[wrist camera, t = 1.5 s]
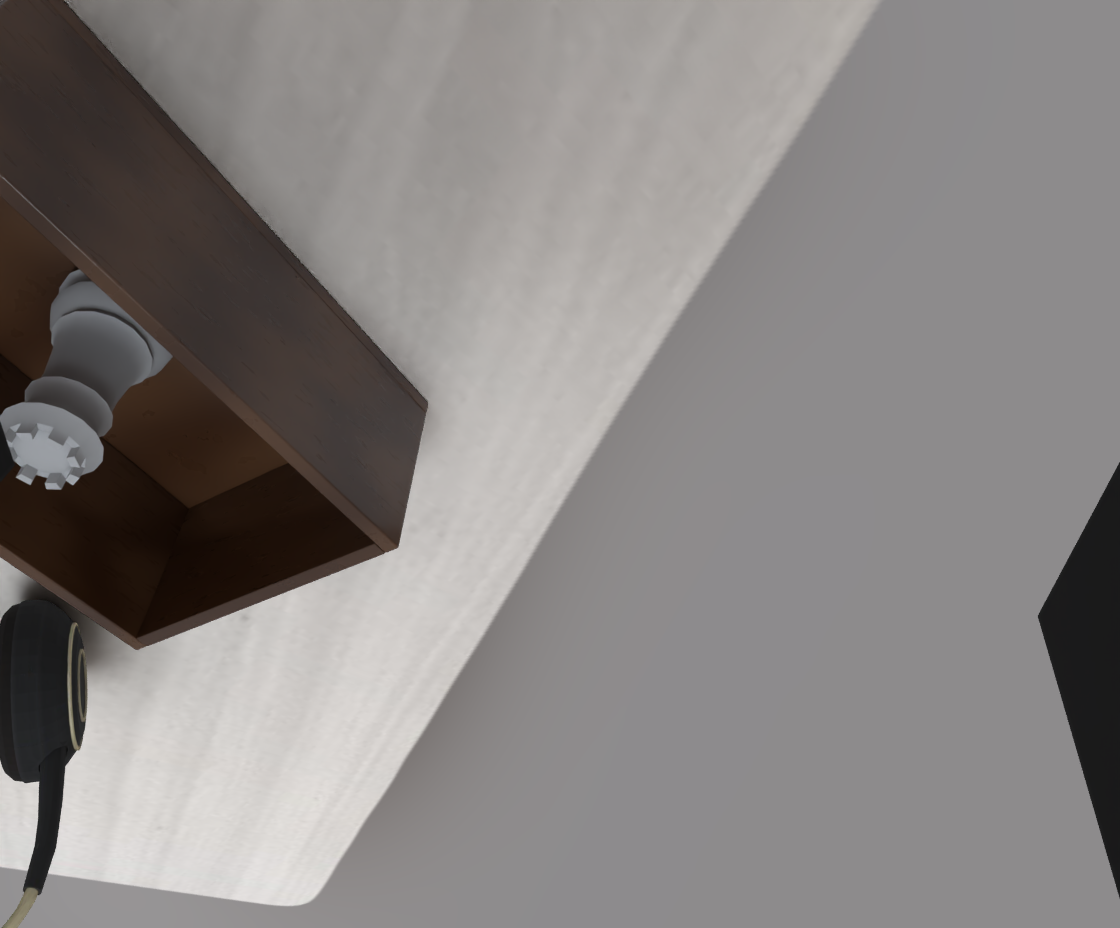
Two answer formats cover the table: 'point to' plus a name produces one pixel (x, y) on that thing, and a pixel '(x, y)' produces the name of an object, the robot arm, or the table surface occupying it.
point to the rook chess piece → (79, 384)
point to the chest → (180, 362)
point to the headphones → (40, 718)
